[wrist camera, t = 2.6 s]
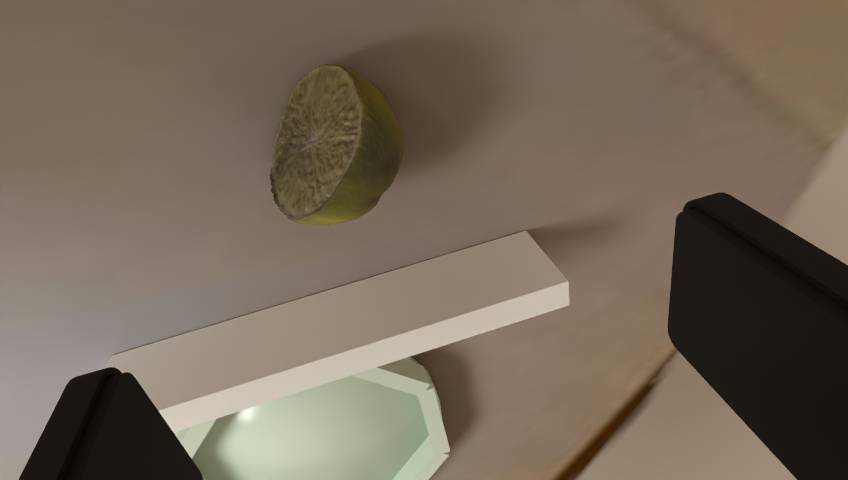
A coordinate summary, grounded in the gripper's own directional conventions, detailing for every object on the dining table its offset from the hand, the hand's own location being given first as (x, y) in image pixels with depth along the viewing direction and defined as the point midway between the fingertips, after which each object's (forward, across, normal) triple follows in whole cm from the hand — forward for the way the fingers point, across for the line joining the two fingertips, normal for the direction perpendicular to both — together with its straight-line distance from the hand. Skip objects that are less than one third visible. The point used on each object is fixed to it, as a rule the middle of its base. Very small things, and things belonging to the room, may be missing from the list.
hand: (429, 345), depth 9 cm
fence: (+12, +3, +7) cm, 14 cm away
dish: (+12, +6, +14) cm, 20 cm away
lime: (+12, +1, 0) cm, 12 cm away
